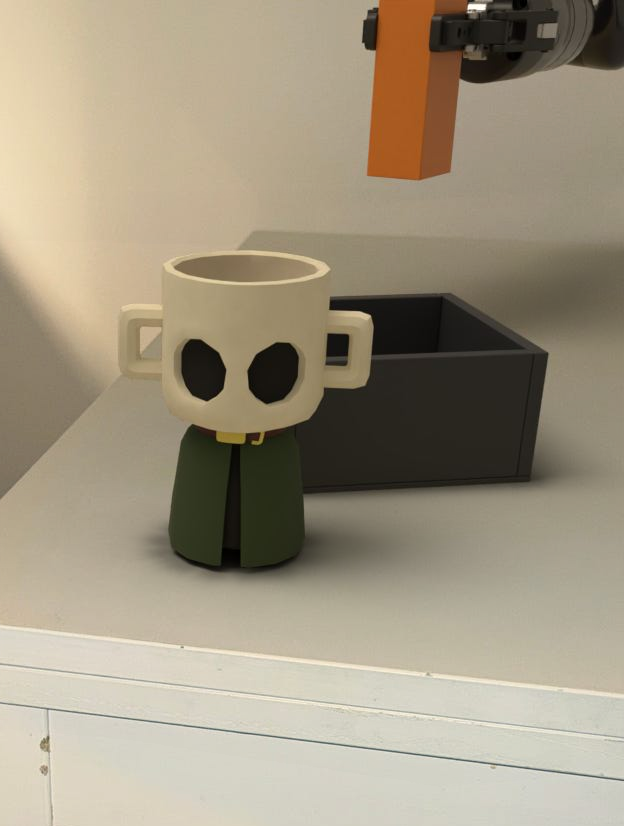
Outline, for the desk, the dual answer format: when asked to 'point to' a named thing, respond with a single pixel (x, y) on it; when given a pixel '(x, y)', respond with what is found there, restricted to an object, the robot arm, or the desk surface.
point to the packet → (412, 93)
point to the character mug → (242, 391)
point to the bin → (426, 401)
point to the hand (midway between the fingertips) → (402, 32)
